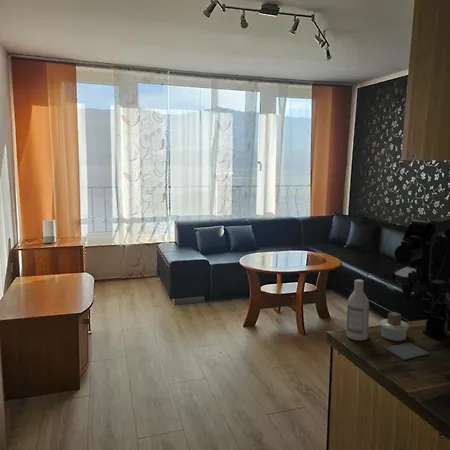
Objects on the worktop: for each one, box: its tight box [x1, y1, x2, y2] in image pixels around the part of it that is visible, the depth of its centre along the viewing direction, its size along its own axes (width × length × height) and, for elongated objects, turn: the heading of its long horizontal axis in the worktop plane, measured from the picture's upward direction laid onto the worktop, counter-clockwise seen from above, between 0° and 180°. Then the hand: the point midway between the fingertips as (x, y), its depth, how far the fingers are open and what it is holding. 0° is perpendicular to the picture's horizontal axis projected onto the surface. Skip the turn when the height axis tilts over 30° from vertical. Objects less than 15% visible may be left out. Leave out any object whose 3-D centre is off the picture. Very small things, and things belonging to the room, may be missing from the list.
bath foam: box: [346, 278, 370, 342], centre depth 137 cm, size 7×7×20 cm
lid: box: [379, 311, 409, 332], centre depth 138 cm, size 9×9×4 cm
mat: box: [384, 342, 430, 361], centre depth 127 cm, size 10×8×1 cm
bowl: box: [380, 326, 407, 342], centre depth 138 cm, size 8×8×4 cm
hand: (418, 306), depth 130 cm, fingers open, 9 cm apart
